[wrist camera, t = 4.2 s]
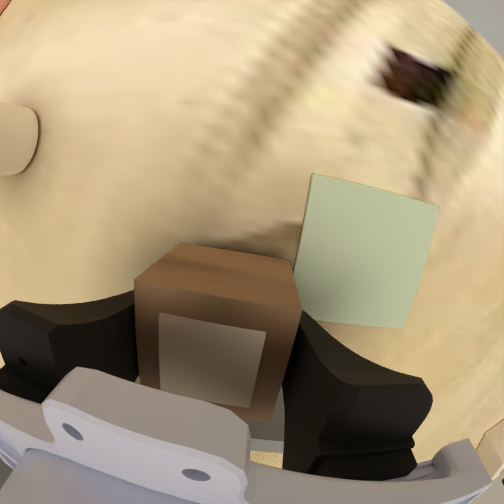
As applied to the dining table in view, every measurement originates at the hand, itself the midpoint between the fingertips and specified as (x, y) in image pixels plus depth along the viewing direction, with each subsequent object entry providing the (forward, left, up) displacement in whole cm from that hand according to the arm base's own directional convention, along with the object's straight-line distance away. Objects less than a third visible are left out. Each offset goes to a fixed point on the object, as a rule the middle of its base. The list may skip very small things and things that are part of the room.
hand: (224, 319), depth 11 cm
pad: (+3, -7, -4) cm, 9 cm away
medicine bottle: (-19, -41, -5) cm, 46 cm away
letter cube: (0, 0, -2) cm, 2 cm away
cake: (+30, +40, -5) cm, 50 cm away
